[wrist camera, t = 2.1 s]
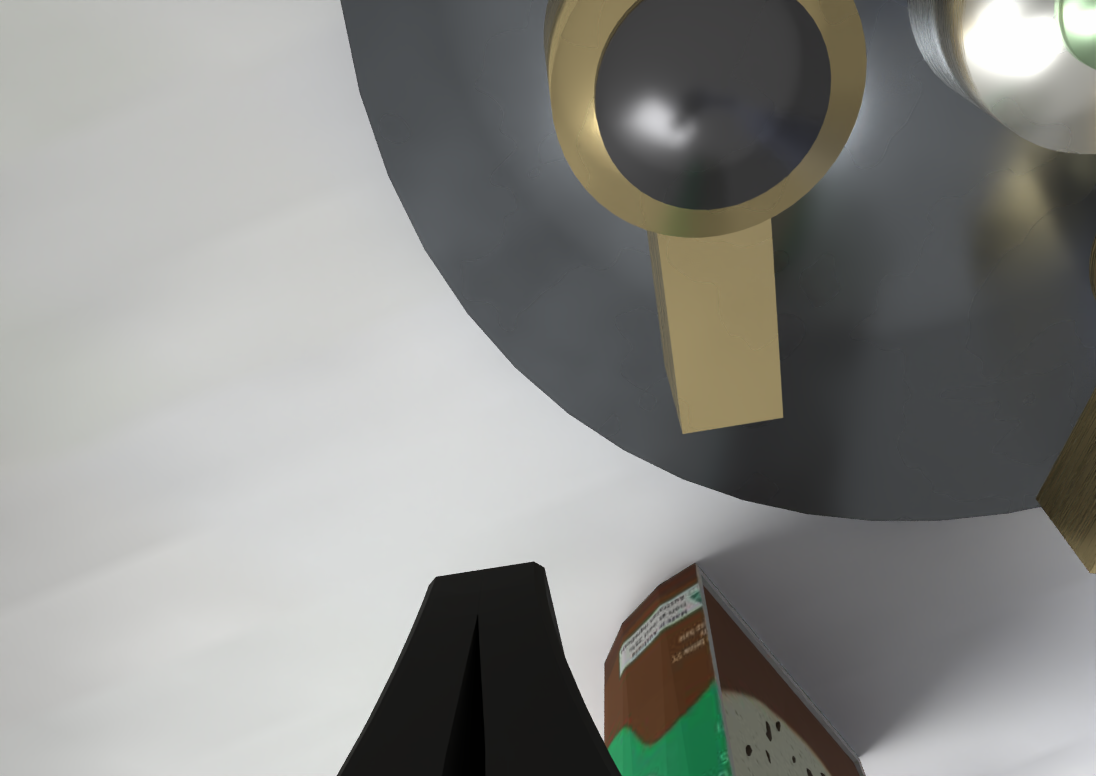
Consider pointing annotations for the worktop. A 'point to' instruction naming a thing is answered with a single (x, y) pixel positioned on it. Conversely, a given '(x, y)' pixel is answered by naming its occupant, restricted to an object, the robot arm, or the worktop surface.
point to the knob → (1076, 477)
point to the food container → (709, 695)
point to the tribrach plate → (788, 253)
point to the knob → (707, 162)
